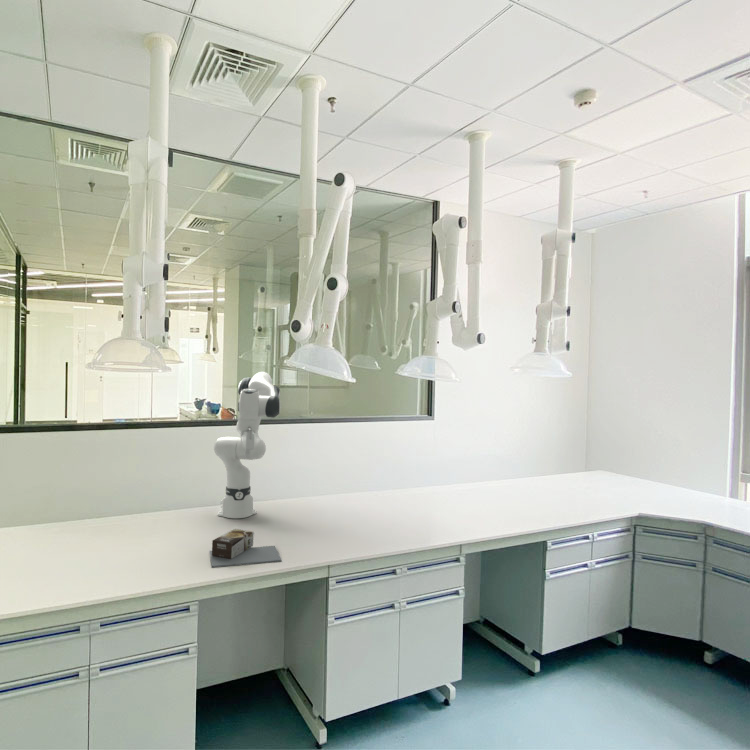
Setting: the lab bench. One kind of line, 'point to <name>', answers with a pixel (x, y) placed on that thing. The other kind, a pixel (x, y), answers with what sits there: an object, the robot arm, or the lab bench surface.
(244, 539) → the coffee box
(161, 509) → the lab bench surface
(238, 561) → the mat
